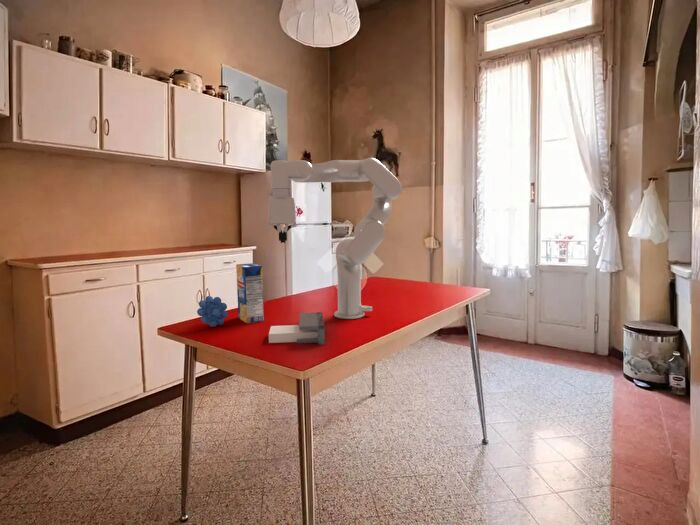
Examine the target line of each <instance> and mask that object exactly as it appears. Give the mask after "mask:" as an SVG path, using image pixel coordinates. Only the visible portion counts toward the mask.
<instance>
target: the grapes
mask: <svg viewBox="0 0 700 525" xmlns="http://www.w3.org/2000/svg"><path fill="white" fill-rule="evenodd" d="M198 306H199V307H200V308H198V309H197V310H196V313H197V315H198V316H200V321H201V323H202V324H208V325H209V326H210V327H212V328H215V327H216V326H217V325H223V324H225V319H227V318H228V316H229V313H228V311H227V309H228V305H227V304H226V303H225V302H222V299H221V298H220V297H219V296H214V297H213V296H210V295H207V296H206V297H205V298H204V300H203V299H202V300H199V303H198Z"/></svg>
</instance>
